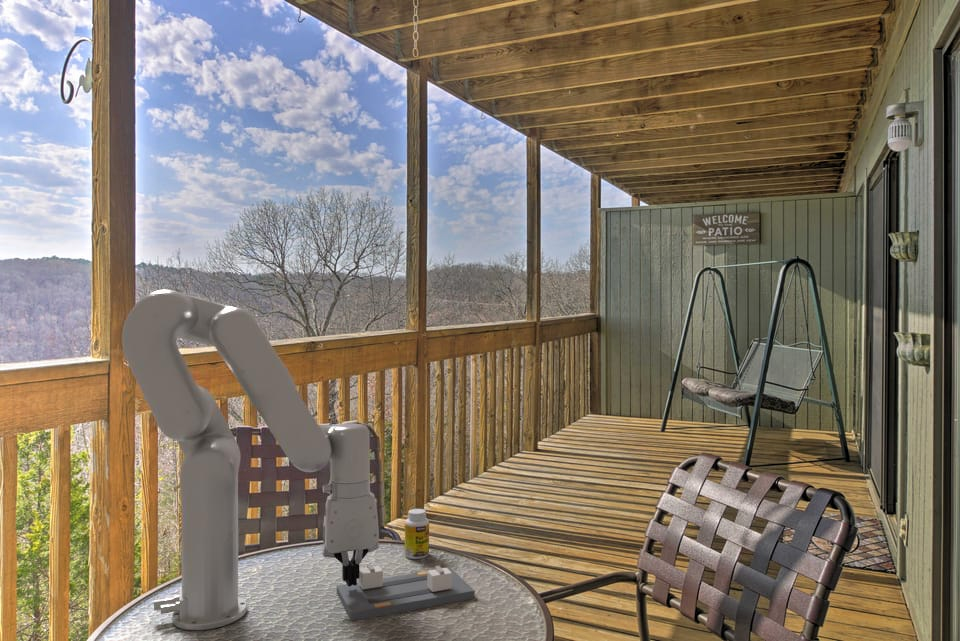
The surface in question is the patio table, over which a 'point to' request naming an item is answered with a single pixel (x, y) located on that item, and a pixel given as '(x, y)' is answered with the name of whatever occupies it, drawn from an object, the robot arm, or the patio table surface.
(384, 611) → the switch panel
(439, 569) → the tab near
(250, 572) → the patio table surface
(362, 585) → the tab far
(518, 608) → the patio table surface
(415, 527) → the supplement bottle
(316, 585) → the patio table surface
